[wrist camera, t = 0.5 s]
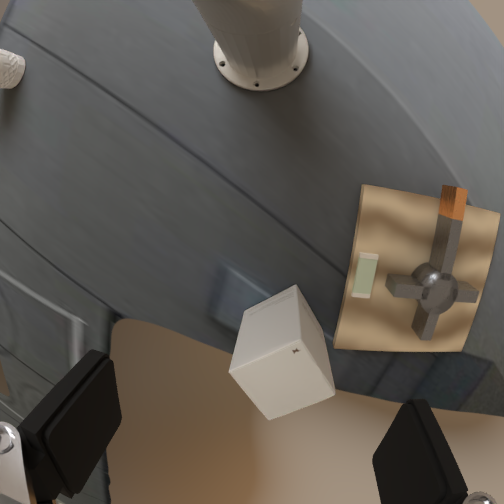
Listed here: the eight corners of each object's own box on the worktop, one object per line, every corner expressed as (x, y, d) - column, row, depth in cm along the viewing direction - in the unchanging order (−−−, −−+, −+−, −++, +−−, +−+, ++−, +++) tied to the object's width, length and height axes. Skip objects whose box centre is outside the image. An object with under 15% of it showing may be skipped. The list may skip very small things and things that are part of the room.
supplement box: (242, 310, 46) (224, 370, 31) (296, 282, 44) (302, 337, 29) (272, 355, 47) (267, 423, 33) (324, 331, 45) (337, 396, 31)
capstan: (401, 175, 37) (416, 177, 32) (481, 194, 36) (499, 199, 31) (373, 322, 42) (381, 339, 38) (449, 326, 41) (462, 340, 37)
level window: (359, 252, 40) (360, 253, 39) (377, 254, 40) (378, 255, 39) (351, 294, 42) (352, 296, 41) (368, 296, 42) (369, 298, 41)
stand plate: (361, 183, 39) (365, 184, 37) (495, 212, 38) (501, 213, 36) (332, 343, 46) (333, 349, 44) (457, 347, 44) (461, 351, 42)
